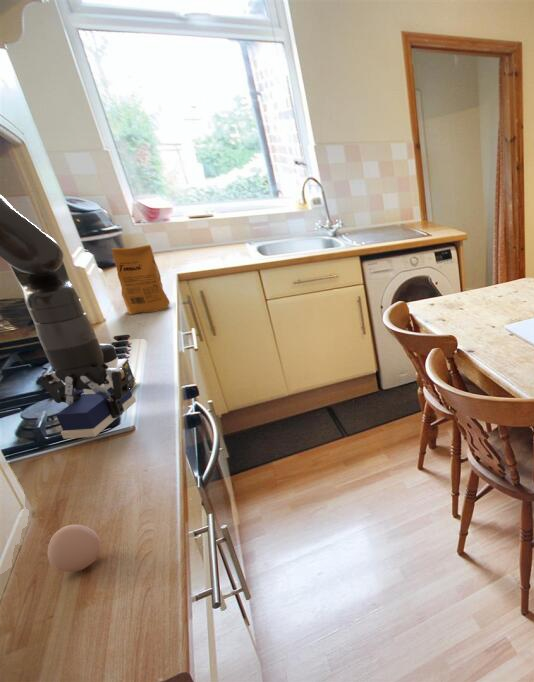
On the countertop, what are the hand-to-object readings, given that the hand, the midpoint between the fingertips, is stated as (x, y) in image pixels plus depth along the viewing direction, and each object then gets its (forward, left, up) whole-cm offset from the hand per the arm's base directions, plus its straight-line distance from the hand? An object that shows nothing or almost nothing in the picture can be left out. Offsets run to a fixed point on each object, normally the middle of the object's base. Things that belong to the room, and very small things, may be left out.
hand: (101, 416), depth 93 cm
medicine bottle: (-9, +17, -4) cm, 19 cm away
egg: (+18, -35, -4) cm, 40 cm away
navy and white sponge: (0, 0, -1) cm, 0 cm away
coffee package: (-35, +81, -4) cm, 88 cm away
